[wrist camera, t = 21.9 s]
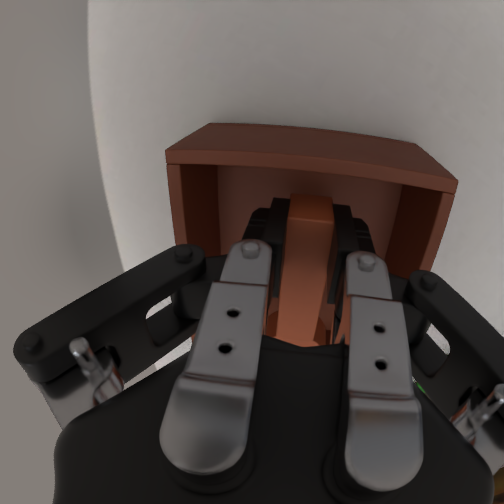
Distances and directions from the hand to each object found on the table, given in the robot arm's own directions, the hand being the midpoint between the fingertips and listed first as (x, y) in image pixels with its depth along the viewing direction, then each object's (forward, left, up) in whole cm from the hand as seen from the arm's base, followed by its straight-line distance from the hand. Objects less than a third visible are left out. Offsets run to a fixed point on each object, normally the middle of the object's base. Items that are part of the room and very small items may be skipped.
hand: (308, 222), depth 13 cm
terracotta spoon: (+3, +2, -1) cm, 4 cm away
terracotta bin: (+3, +2, -5) cm, 6 cm away
